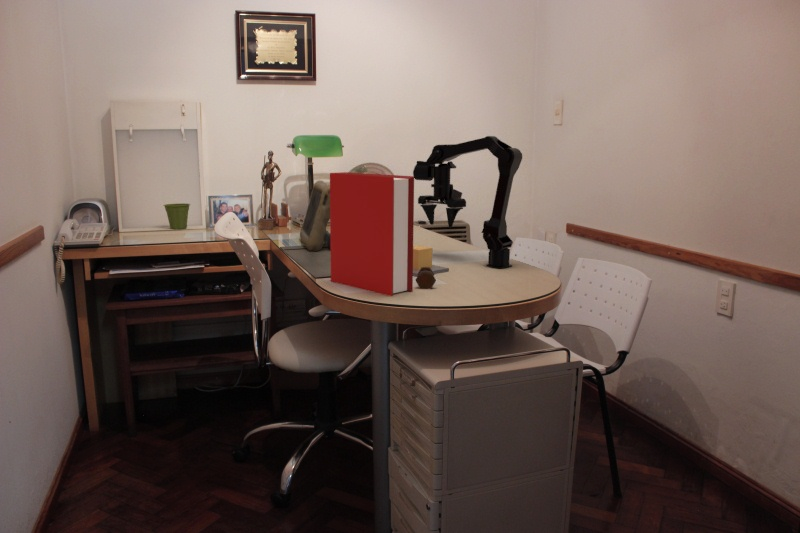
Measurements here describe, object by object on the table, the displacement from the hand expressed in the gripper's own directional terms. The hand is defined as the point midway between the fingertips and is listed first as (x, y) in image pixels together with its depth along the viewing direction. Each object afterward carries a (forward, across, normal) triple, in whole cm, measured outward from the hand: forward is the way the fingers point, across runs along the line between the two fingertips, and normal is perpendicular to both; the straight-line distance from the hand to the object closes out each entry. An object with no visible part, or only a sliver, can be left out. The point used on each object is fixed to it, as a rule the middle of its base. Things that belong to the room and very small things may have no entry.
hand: (441, 225), depth 228 cm
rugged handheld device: (+12, +54, +16) cm, 57 cm away
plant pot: (+12, +133, +40) cm, 139 cm away
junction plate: (+12, -10, +20) cm, 25 cm away
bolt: (+12, -25, +31) cm, 42 cm away
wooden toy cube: (+11, -10, +20) cm, 25 cm away
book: (+12, -17, +46) cm, 51 cm away
